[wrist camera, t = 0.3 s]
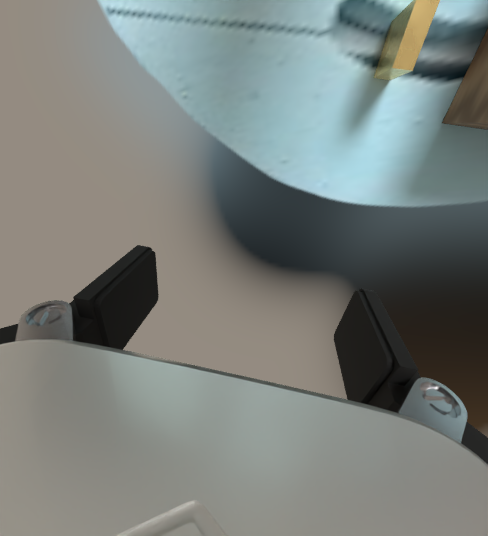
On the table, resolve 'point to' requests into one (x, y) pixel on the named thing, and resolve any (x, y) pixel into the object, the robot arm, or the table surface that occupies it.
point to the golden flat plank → (405, 39)
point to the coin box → (472, 93)
